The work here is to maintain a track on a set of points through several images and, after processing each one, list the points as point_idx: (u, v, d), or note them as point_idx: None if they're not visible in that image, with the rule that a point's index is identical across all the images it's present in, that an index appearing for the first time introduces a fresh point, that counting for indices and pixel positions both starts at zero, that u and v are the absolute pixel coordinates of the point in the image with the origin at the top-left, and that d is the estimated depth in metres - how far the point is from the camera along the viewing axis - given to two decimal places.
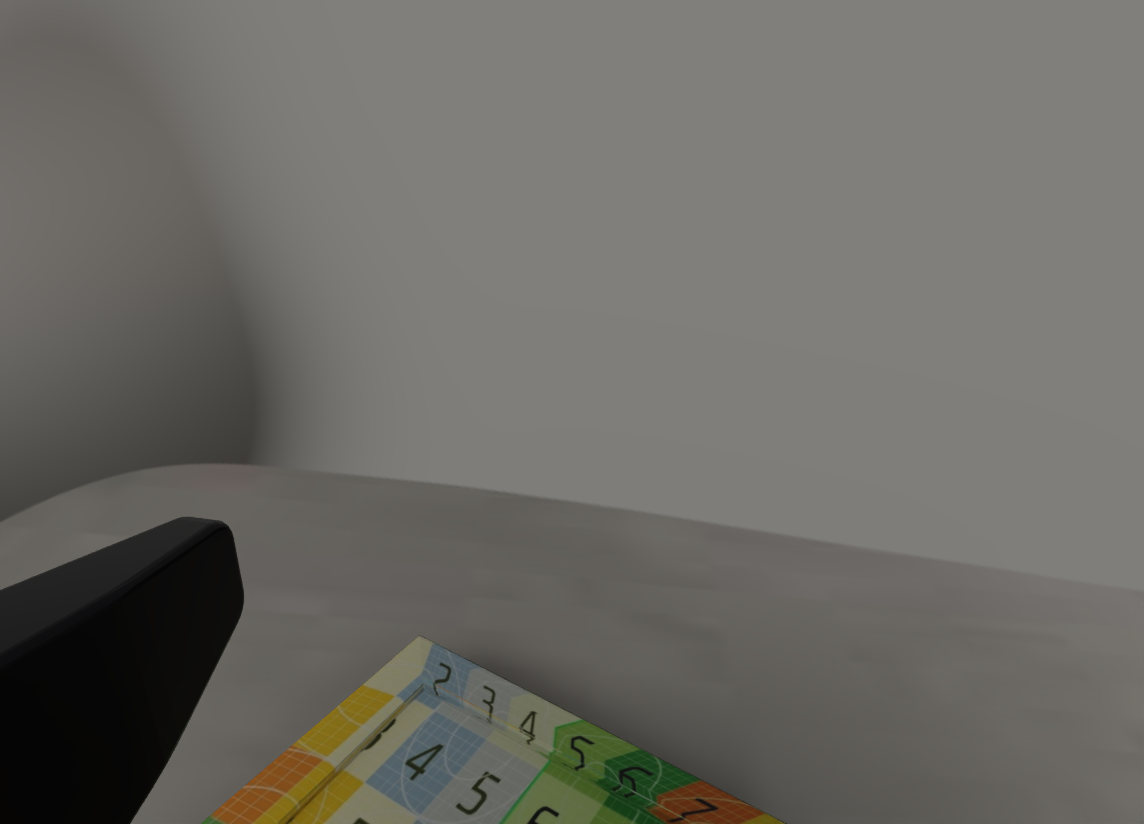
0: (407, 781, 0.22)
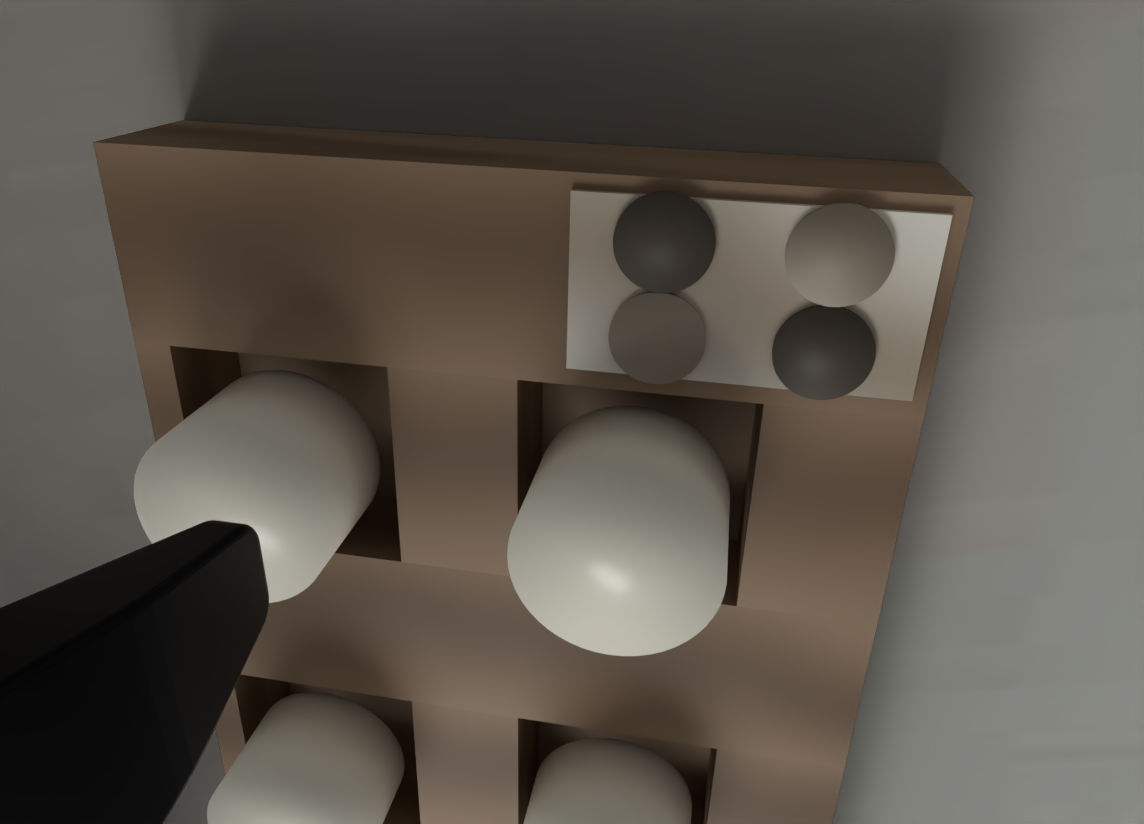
0: None
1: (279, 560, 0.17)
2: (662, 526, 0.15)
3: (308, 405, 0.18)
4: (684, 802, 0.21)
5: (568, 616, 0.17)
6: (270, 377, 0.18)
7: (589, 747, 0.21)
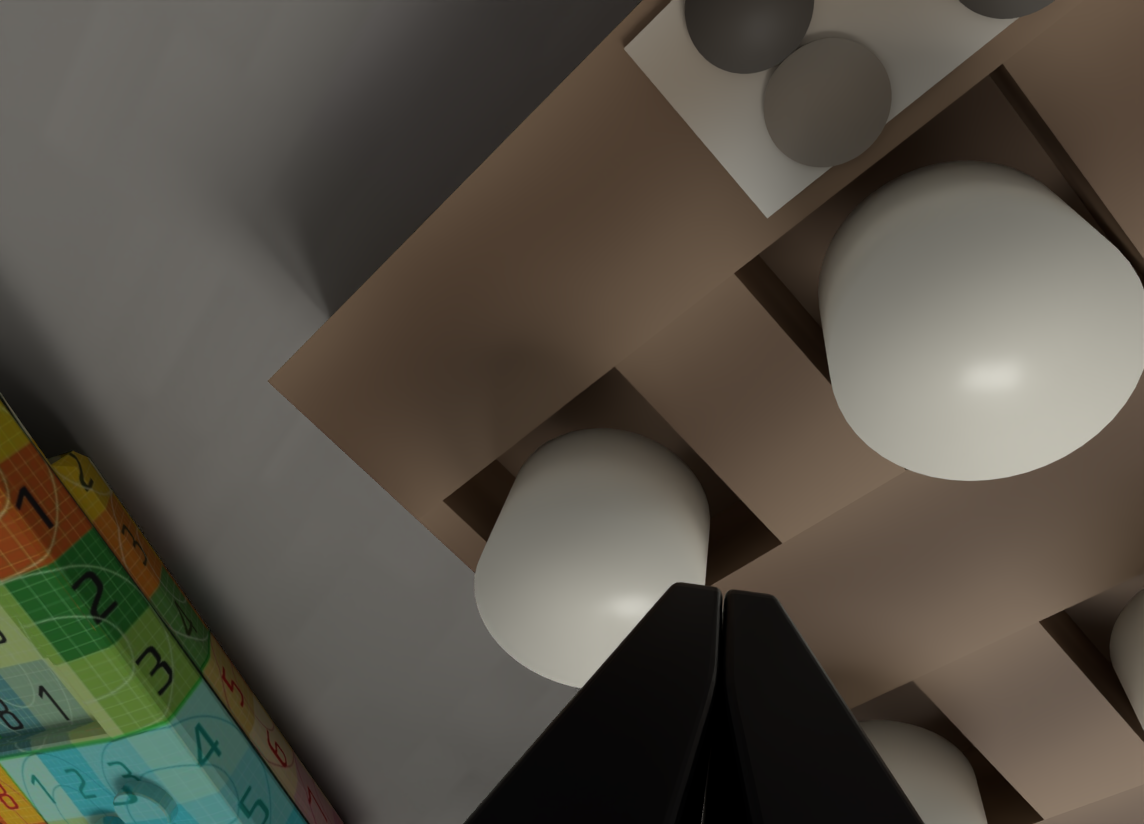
0: None
1: None
2: (992, 263, 0.11)
3: (576, 454, 0.16)
4: None
5: (978, 449, 0.13)
6: (532, 459, 0.17)
7: None
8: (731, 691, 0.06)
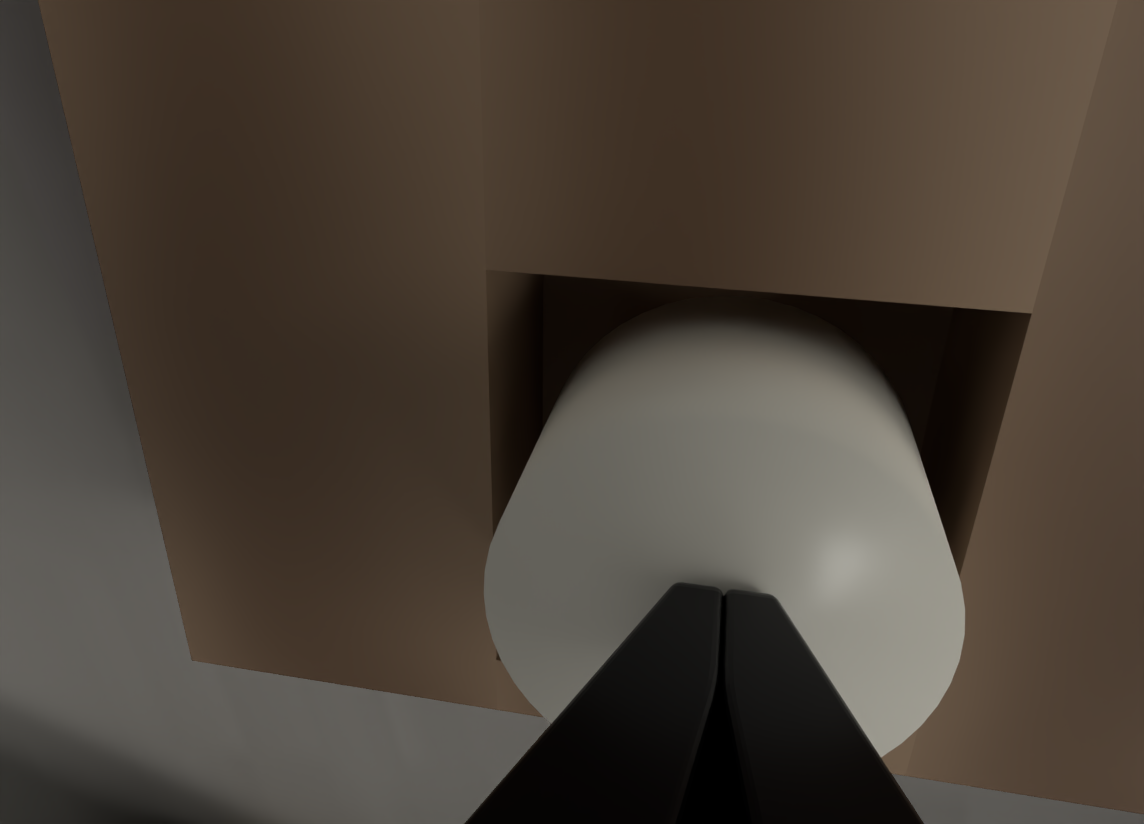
0: None
1: (826, 549, 0.07)
2: None
3: (555, 409, 0.09)
4: None
5: None
6: None
7: None
8: (730, 691, 0.06)
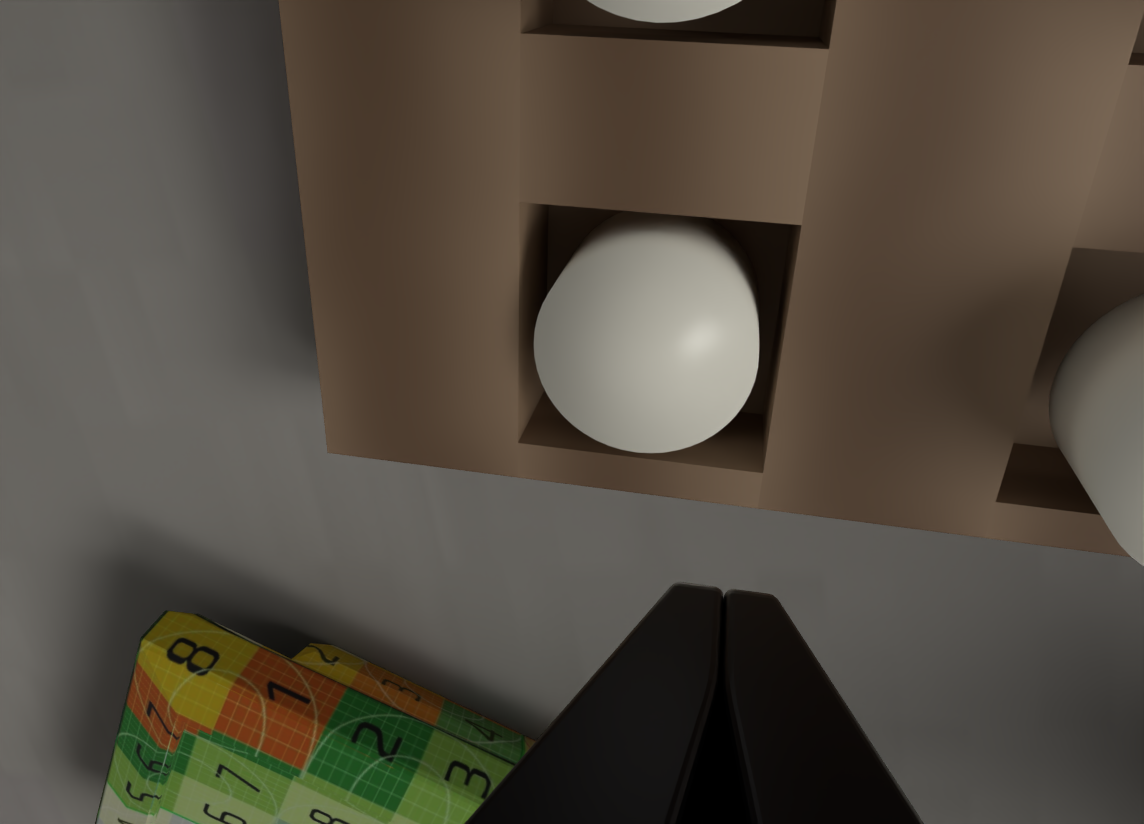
0: None
1: (695, 310, 0.15)
2: None
3: (568, 262, 0.17)
4: None
5: None
6: None
7: None
8: (730, 691, 0.06)
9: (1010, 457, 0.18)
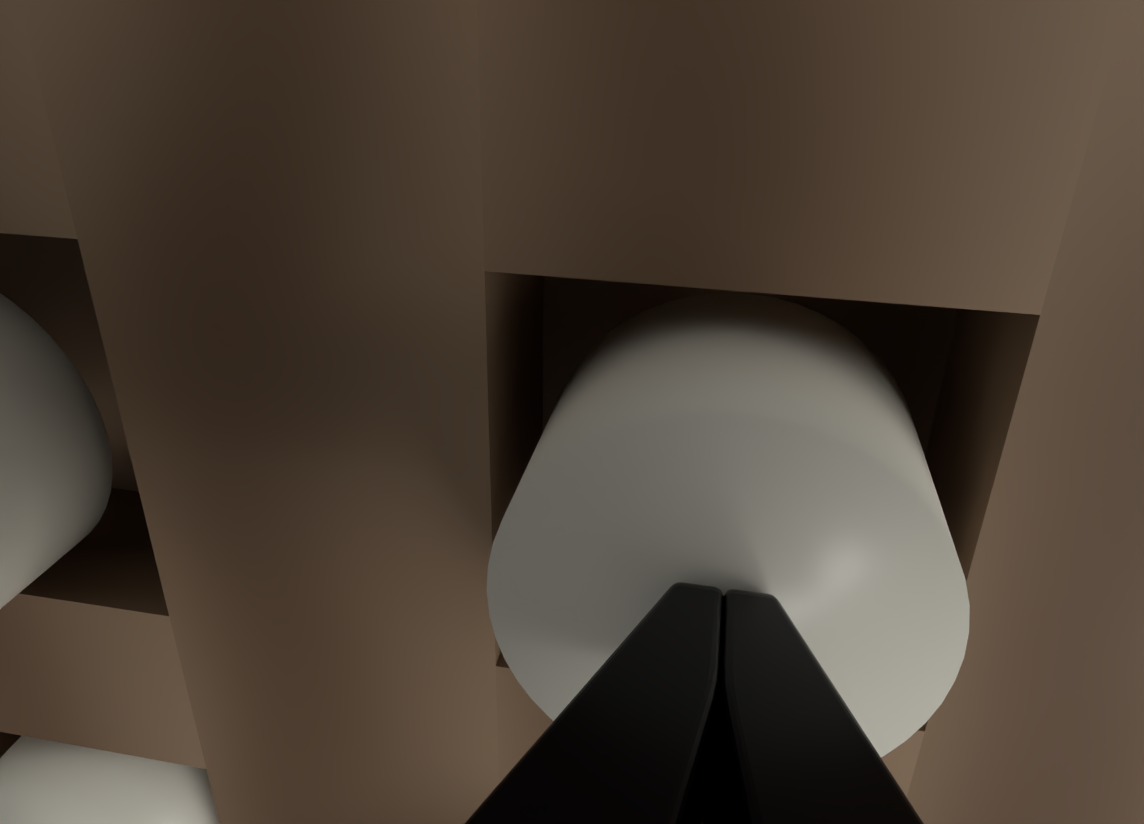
0: None
1: None
2: None
3: None
4: (651, 324, 0.09)
5: None
6: None
7: None
8: (730, 691, 0.06)
9: None
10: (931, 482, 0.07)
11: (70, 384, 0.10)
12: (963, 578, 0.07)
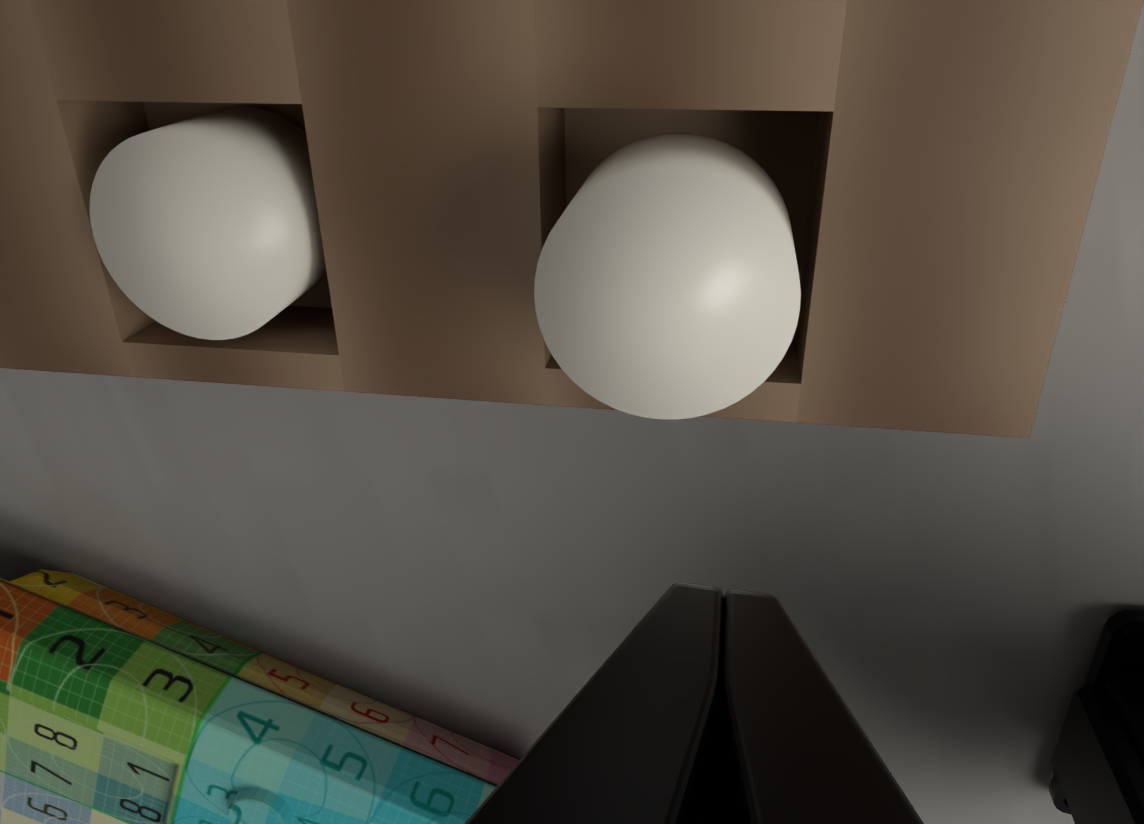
0: None
1: (220, 193, 0.16)
2: None
3: None
4: None
5: None
6: None
7: None
8: (730, 691, 0.06)
9: None
10: None
11: None
12: None
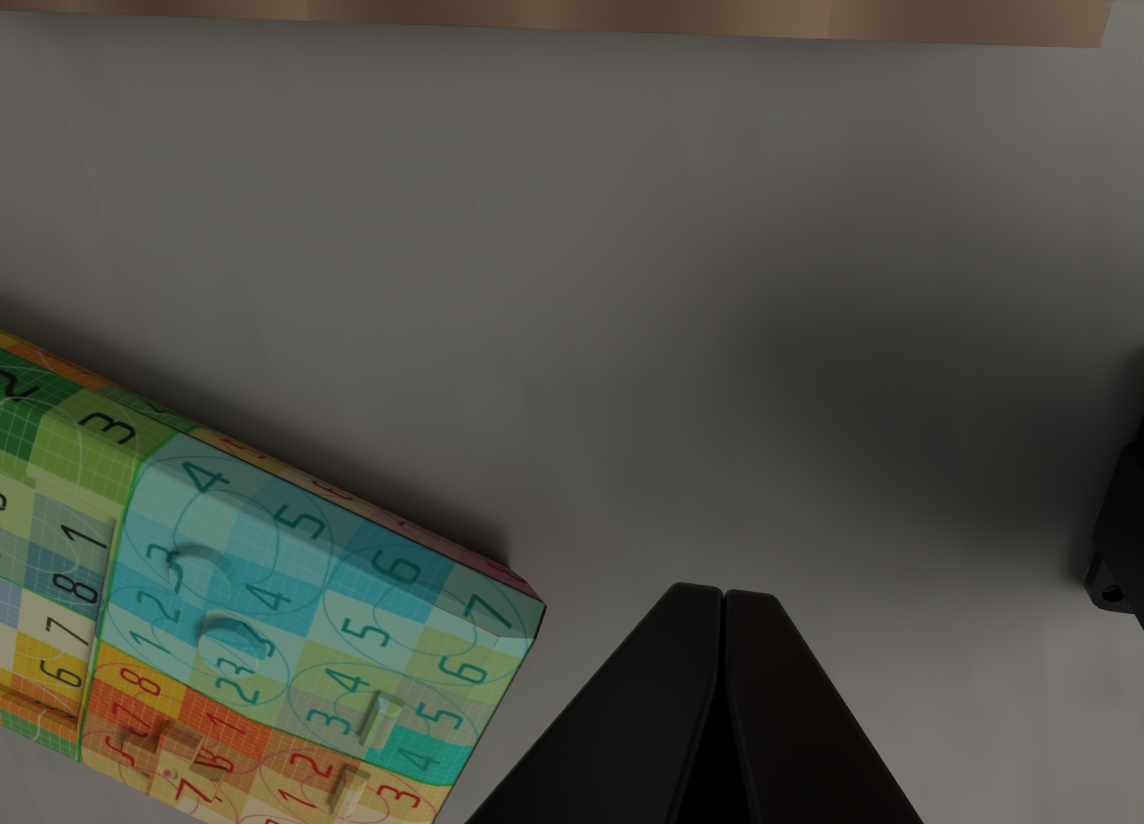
0: None
1: None
2: None
3: None
4: None
5: None
6: None
7: None
8: (730, 691, 0.06)
9: None
10: None
11: None
12: None
